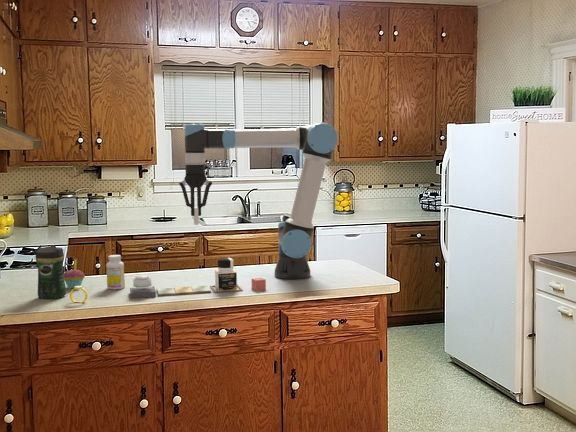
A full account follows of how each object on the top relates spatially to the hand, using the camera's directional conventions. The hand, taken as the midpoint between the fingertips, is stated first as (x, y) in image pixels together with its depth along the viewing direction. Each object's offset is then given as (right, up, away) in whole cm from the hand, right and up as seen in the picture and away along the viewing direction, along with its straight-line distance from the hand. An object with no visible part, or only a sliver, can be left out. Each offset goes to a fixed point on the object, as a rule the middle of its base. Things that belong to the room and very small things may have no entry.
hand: (196, 224), depth 261 cm
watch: (-39, -28, -24) cm, 53 cm away
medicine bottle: (+12, -25, -4) cm, 28 cm away
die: (+25, -25, -5) cm, 35 cm away
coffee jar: (-51, -27, -15) cm, 60 cm away
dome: (-18, -23, -14) cm, 32 cm away
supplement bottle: (-31, -25, -1) cm, 40 cm away
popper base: (-18, -26, -13) cm, 34 cm away
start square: (+12, -25, -4) cm, 28 cm away
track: (-4, -26, -8) cm, 27 cm away
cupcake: (-48, -25, 0) cm, 54 cm away
